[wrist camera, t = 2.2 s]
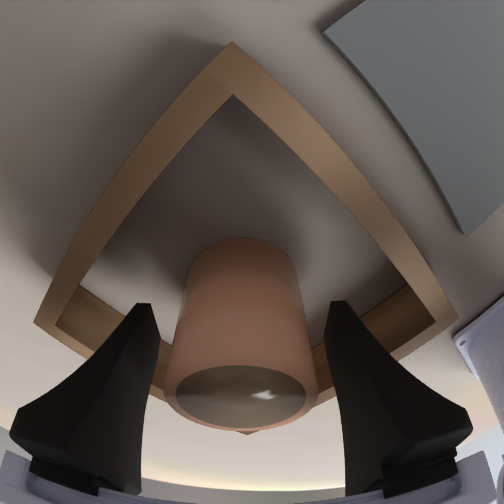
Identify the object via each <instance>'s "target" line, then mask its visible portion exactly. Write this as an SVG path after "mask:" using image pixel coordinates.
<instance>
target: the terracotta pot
mask: <svg viewBox="0 0 504 504" xmlns="http://www.w3.org/2000/svg"><path fill="white" fill-rule="evenodd" d="M163 392H164V396H165V399H166V401H167V402H168V404H169V405H170V406H171V407H172V408H173V409H174V410H175V411H176V412H177V413H179V414H180V415H182V416H183V417H185V418H187V419H189V420H191V421H193V422H195V423H198V424H201V425H204V426H207V427H211V428H216V429H222V430H230V431H256V430H264V429H270V428H275V427H278V426H282V425H285V424H288V423H290V422H292V421H295V420H297V419H298V418H300V417H302V416H303V415H305V414H306V413H307V412H309V411H310V410H311V409H312V408H313V406H314V405H315V403H316V401H317V399H318V394H319V392H318V385H317V379H316V373H315V367H314V361H313V356H312V350H311V345H310V339H309V334H308V328H307V323H306V318H305V312H304V307H303V302H302V297H301V292H300V287H299V282H298V277H297V273H296V270H295V267H294V265H293V263H292V261H291V260H290V259H289V257H288V256H287V255H286V254H285V253H284V252H282V251H281V250H280V249H279V248H277V247H275V246H273V245H272V244H269V243H267V242H264V241H261V240H257V239H251V238H233V239H227V240H223V241H220V242H217V243H215V244H213V245H211V246H209V247H208V248H206V249H205V250H204V251H202V252H201V253H200V254H199V255H198V256H197V257H196V259H195V260H194V262H193V263H192V265H191V268H190V271H189V275H188V279H187V283H186V287H185V291H184V295H183V300H182V304H181V308H180V312H179V317H178V321H177V326H176V330H175V335H174V339H173V344H172V349H171V353H170V358H169V363H168V368H167V373H166V378H165V383H164V388H163Z"/></svg>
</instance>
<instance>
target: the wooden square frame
mask: <svg viewBox="0 0 504 504" xmlns="http://www.w3.org/2000/svg"><path fill="white" fill-rule="evenodd" d="M232 94H234V95H235V96H236V97H237V98H238V99H239V100H240V101H241V102H243V103H244V104H245V105H246V106H247V107H248V108H249V109H250V110H251V111H252V112H254V113H255V114H256V115H257V116H258V117H259V118H260V119H261V120H262V121H263V122H264V123H265V124H266V125H267V126H268V127H269V128H270V129H272V130H273V131H274V132H275V133H276V134H277V135H278V136H279V137H280V138H281V139H282V140H283V141H284V142H285V143H286V144H287V145H288V146H289V147H290V148H291V149H292V150H293V151H294V152H295V153H296V154H297V155H298V156H299V157H300V158H301V159H302V160H303V161H304V162H305V163H306V164H307V165H308V167H309V168H310V169H311V170H312V171H313V172H314V173H315V174H316V175H317V176H318V177H319V178H320V179H321V180H322V181H323V182H324V183H325V185H326V186H327V187H328V188H329V189H330V190H331V191H332V192H333V193H334V194H335V195H336V197H337V198H338V199H339V200H340V201H341V202H342V203H343V204H344V206H345V207H346V208H347V209H348V210H349V211H350V212H351V213H352V215H353V216H354V217H355V218H356V219H357V220H358V222H359V223H360V224H361V225H362V226H363V227H364V229H365V230H366V231H367V232H368V233H369V235H370V236H371V237H372V238H373V239H374V241H375V242H376V243H377V244H378V245H379V247H380V248H381V249H382V250H383V252H384V253H385V254H386V255H387V257H388V258H389V259H390V260H391V262H392V263H393V264H394V265H395V267H396V268H397V269H398V271H399V272H400V273H401V274H402V276H403V277H404V278H405V280H406V281H407V282H408V284H407V285H405V286H404V287H403V288H401V289H400V290H399V291H397V292H396V293H395V294H393V295H392V296H391V297H389V298H388V299H387V300H385V301H384V302H382V303H381V304H380V305H378V306H377V307H375V308H374V309H372V310H371V311H370V312H368V313H367V314H365V315H364V316H362V317H361V318H360V320H361V321H362V322H363V324H364V325H365V326H366V327H367V329H368V330H369V331H370V332H371V333H372V334H373V336H374V337H375V338H376V339H377V340H378V342H379V343H380V344H381V345H382V346H383V347H384V348H385V349H386V350H387V351H388V352H389V354H390V355H391V356H392V357H393V358H394V359H395V360H396V361H399V360H400V359H402V358H404V357H405V356H407V355H408V354H410V353H411V352H413V351H414V350H416V349H417V348H419V347H420V346H422V345H423V344H425V343H426V342H428V341H429V340H431V339H432V338H434V337H435V336H436V335H438V334H439V333H441V332H442V331H443V330H445V329H446V328H447V327H449V326H450V325H451V324H453V323H454V322H455V321H457V320H458V319H459V317H458V315H457V313H456V312H455V310H454V308H453V306H452V304H451V303H450V301H449V299H448V297H447V296H446V294H445V292H444V291H443V289H442V287H441V286H440V284H439V282H438V281H437V279H436V277H435V276H434V274H433V273H432V271H431V269H430V268H429V266H428V265H427V263H426V261H425V260H424V258H423V257H422V255H421V254H420V252H419V251H418V249H417V248H416V246H415V245H414V243H413V242H412V240H411V239H410V237H409V236H408V234H407V233H406V232H405V230H404V229H403V227H402V226H401V224H400V223H399V222H398V220H397V219H396V217H395V216H394V215H393V213H392V212H391V211H390V209H389V208H388V207H387V205H386V204H385V203H384V201H383V200H382V199H381V197H380V196H379V195H378V193H377V192H376V191H375V190H374V188H373V187H372V186H371V184H370V183H369V182H368V181H367V179H366V178H365V177H364V176H363V174H362V173H361V172H360V171H359V169H358V168H357V167H356V166H355V165H354V163H353V162H352V161H351V160H350V159H349V157H348V156H347V155H346V154H345V153H344V152H343V150H342V149H341V148H340V147H339V146H338V145H337V144H336V142H335V141H334V140H333V139H332V138H331V137H330V136H329V135H328V133H327V132H326V131H325V130H324V129H323V128H322V127H321V126H320V125H319V124H318V122H317V121H316V120H315V119H314V118H313V117H312V116H311V115H310V114H309V113H308V112H307V111H306V110H305V109H304V108H303V107H302V106H301V105H300V104H299V103H298V102H297V101H296V100H295V99H294V98H293V97H292V96H291V95H290V94H289V93H288V92H287V91H286V90H285V89H284V88H283V87H282V86H281V85H280V84H279V83H278V82H277V81H276V80H275V79H274V78H273V77H272V76H271V75H270V74H269V73H268V72H267V71H265V70H264V69H263V68H262V67H261V66H260V65H259V64H258V63H257V62H256V61H254V60H253V59H252V58H251V57H250V56H249V55H248V54H247V53H245V52H244V51H243V50H242V49H241V48H240V47H238V46H237V45H236V44H235V43H234V42H230V43H229V44H228V45H227V46H226V47H225V48H224V49H223V50H222V51H221V52H220V53H219V54H218V55H217V56H216V57H215V58H214V59H213V60H212V61H211V62H210V63H209V64H208V65H207V66H206V67H205V68H204V69H203V70H202V71H201V72H200V73H199V74H198V75H197V76H196V77H195V78H194V80H193V81H192V82H191V83H190V84H189V85H188V86H187V87H186V88H185V89H184V90H183V92H182V93H181V94H180V95H179V96H178V97H177V98H176V99H175V101H174V102H173V103H172V104H171V105H170V106H169V107H168V109H167V110H166V111H165V112H164V113H163V115H162V116H161V117H160V118H159V119H158V121H157V122H156V123H155V124H154V125H153V127H152V128H151V129H150V130H149V132H148V133H147V134H146V135H145V137H144V138H143V139H142V141H141V142H140V143H139V144H138V146H137V147H136V148H135V150H134V151H133V152H132V154H131V155H130V156H129V158H128V159H127V160H126V162H125V163H124V165H123V166H122V167H121V169H120V170H119V172H118V173H117V174H116V176H115V177H114V179H113V180H112V182H111V183H110V184H109V186H108V187H107V189H106V190H105V192H104V193H103V195H102V196H101V198H100V199H99V201H98V203H97V204H96V206H95V207H94V209H93V210H92V212H91V214H90V215H89V217H88V218H87V220H86V222H85V223H84V225H83V227H82V228H81V230H80V232H79V233H78V235H77V237H76V238H75V240H74V242H73V244H72V245H71V247H70V249H69V251H68V253H67V254H66V256H65V258H64V260H63V262H62V264H61V266H60V267H59V269H58V271H57V273H56V275H55V277H54V279H53V281H52V283H51V285H50V287H49V289H48V291H47V293H46V295H45V297H44V299H43V302H42V304H41V306H40V308H39V310H38V312H37V315H36V317H35V319H34V321H33V323H34V324H36V325H37V326H38V327H40V328H41V329H42V330H44V331H45V332H47V333H48V334H49V335H51V336H52V337H54V338H55V339H57V340H58V341H60V342H61V343H63V344H64V345H66V346H67V347H69V348H70V349H72V350H73V351H75V352H76V353H78V354H79V355H81V356H82V357H84V358H86V359H87V360H88V359H89V358H90V357H91V356H92V355H93V354H94V353H95V351H96V350H97V349H98V348H99V347H100V346H101V345H102V344H103V343H104V342H105V340H106V339H107V338H108V337H109V336H110V335H111V333H112V332H113V331H114V330H115V329H116V328H117V326H118V325H119V324H120V323H121V321H122V320H123V319H124V318H125V317H124V316H123V315H121V314H120V313H118V312H117V311H115V310H114V309H113V308H111V307H110V306H108V305H107V304H105V303H104V302H102V301H101V300H99V299H98V298H97V297H95V296H94V295H92V294H91V293H90V292H88V291H87V290H85V289H84V288H83V287H81V286H80V285H79V284H80V282H81V281H82V279H83V278H84V276H85V275H86V273H87V272H88V270H89V268H90V267H91V265H92V264H93V262H94V261H95V259H96V258H97V257H98V255H99V254H100V252H101V251H102V249H103V248H104V246H105V245H106V244H107V242H108V241H109V239H110V238H111V237H112V235H113V234H114V232H115V231H116V230H117V228H118V227H119V225H120V224H121V223H122V221H123V220H124V219H125V217H126V216H127V215H128V213H129V212H130V211H131V209H132V208H133V207H134V206H135V204H136V203H137V202H138V200H139V199H140V198H141V197H142V195H143V194H144V193H145V191H146V190H147V189H148V188H149V186H150V185H151V184H152V183H153V182H154V180H155V179H156V178H157V177H158V175H159V174H160V173H161V172H162V171H163V169H164V168H165V167H166V166H167V165H168V163H169V162H170V161H171V160H172V159H173V158H174V156H175V155H176V154H177V153H178V152H179V151H180V150H181V148H182V147H183V146H184V145H185V144H186V143H187V142H188V141H189V139H190V138H191V137H192V136H193V135H194V134H195V133H196V132H197V131H198V130H199V129H200V127H201V126H202V125H203V124H204V123H205V122H206V121H207V120H208V119H209V118H210V117H211V116H212V115H213V114H214V113H215V112H216V111H217V110H218V108H219V107H220V106H221V105H222V104H223V103H224V102H225V101H226V100H227V99H228V98H229V97H230V96H231V95H232ZM171 349H172V346H171V345H169V344H168V343H166V342H164V341H163V340H161V339H160V347H159V354H158V360H157V364H156V368H155V372H154V376H153V380H152V384H151V387H150V391H149V394H150V395H152V396H154V397H156V398H158V399H160V400H163V401H165V402H167V401H166V399H165V396H164V392H163V388H164V383H165V378H166V373H167V368H168V363H169V358H170V353H171ZM311 350H312V356H313V361H314V367H315V373H316V379H317V385H318V392H319V394H318V399H317V401H316V403H315V405H314V406H313V407H315V406H317V405H319V404H321V403H323V402H325V401H327V400H329V399H331V398H333V397H335V396H336V392H335V388H334V384H333V380H332V376H331V373H330V369H329V365H328V361H327V357H326V350H325V343H324V342H323V343H321V344H319V345H318V346H316V347H315V348H313V349H311ZM167 403H168V402H167ZM257 431H260V430H256V431H237V432H240V433H242V434H245V435H249V434H252V433H254V432H257Z"/></svg>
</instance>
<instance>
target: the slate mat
mask: <svg viewBox="0 0 504 504" xmlns="http://www.w3.org/2000/svg"><path fill="white" fill-rule="evenodd" d="M321 34H322V35H323V37H324V38H325V39H326V40H327V41H328V42H329V43H330V44H331V45H332V46H333V47H334V48H335V49H336V50H337V51H338V52H339V53H340V54H341V55H342V57H343V58H344V59H345V60H346V61H347V62H348V63H349V64H350V65H351V67H352V68H353V69H354V70H355V71H356V72H357V74H358V75H359V76H360V77H361V78H362V79H363V81H364V82H365V83H366V84H367V86H368V87H369V88H370V89H371V90H372V92H373V93H374V94H375V96H376V97H377V98H378V99H379V101H380V102H381V103H382V105H383V106H384V107H385V109H386V110H387V111H388V113H389V114H390V115H391V117H392V118H393V119H394V121H395V122H396V124H397V125H398V126H399V128H400V129H401V131H402V132H403V134H404V135H405V136H406V138H407V139H408V141H409V142H410V144H411V145H412V147H413V149H414V150H415V152H416V153H417V155H418V156H419V158H420V159H421V161H422V163H423V164H424V166H425V168H426V169H427V171H428V173H429V174H430V176H431V178H432V179H433V181H434V183H435V184H436V186H437V188H438V190H439V192H440V193H441V195H442V197H443V199H444V201H445V203H446V204H447V206H448V208H449V210H450V212H451V214H452V216H453V218H454V220H455V222H456V224H457V226H458V228H459V230H460V232H461V233H462V234H463V235H464V236H465V237H467V236H468V235H469V234H470V233H471V232H472V231H473V230H474V229H476V228H477V227H478V226H479V225H480V224H481V223H482V222H483V221H484V220H485V219H486V218H487V217H489V216H490V215H491V214H492V213H493V212H494V211H495V210H496V209H497V208H498V207H499V206H500V205H501V204H502V203H503V202H504V0H364V1H363V2H361V3H360V4H359V5H357V6H356V7H354V8H353V9H352V10H350V11H349V12H348V13H346V14H345V15H344V16H342V17H341V18H340V19H338V20H337V21H336V22H334V23H333V24H332V25H331V26H329V27H328V28H327V29H325V30H324V31H323V32H322V33H321Z"/></svg>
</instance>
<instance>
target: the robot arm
mask: <svg viewBox="0 0 504 504" xmlns="http://www.w3.org/2000/svg"><path fill="white" fill-rule="evenodd" d="M160 339H161V337H160V333H159V330H158V327H157V324H156V320H155V317H154V314H153V310H152V307H151V303H136V305H135V306H134V307H133V308H132V309H131V310H130V312H129V313H128V314H127V315H126V317H125V318H124V319H123V320H122V321H121V323H120V324H119V325H118V326H117V328H116V329H115V330H114V331H113V332H112V333H111V335H110V336H109V337H108V338H107V339H106V340H105V342H104V343H103V344H102V345H101V346H100V347H99V348H98V349H97V350H96V351H95V353H94V354H93V355H92V356H91V357H90V358H89V359H88V360H87V361H86V362H85V363H84V364H83V365H81V366H80V367H79V368H78V369H77V370H76V371H75V372H74V373H72V374H71V375H70V376H69V377H67V378H66V379H65V380H64V381H62V382H61V383H60V384H59V385H57V386H56V387H54V388H53V389H51V390H50V391H49V392H47V393H45V394H44V395H42V396H41V397H39V398H37V399H36V400H34V401H32V402H30V403H28V404H27V405H25V406H23V407H21V408H19V409H18V411H17V413H16V416H15V419H14V421H13V424H12V427H11V429H10V432H9V435H10V438H11V439H12V440H13V441H14V442H15V443H16V444H18V445H19V446H20V447H21V448H23V449H24V450H25V451H27V452H28V453H29V454H31V455H32V456H33V457H32V461H30V460H28V459H26V458H24V457H22V456H19V455H17V454H15V453H13V452H10V451H8V450H6V451H5V455H4V458H3V461H2V465H1V468H0V501H1V502H3V503H5V504H194V503H184V502H175V501H167V500H159V499H153V498H147V497H142V496H137V495H138V494H140V492H141V448H142V434H143V424H144V415H145V409H146V404H147V399H148V395H149V391H150V387H151V384H152V380H153V376H154V372H155V368H156V364H157V360H158V354H159V347H160ZM453 341H454V343H455V345H456V347H457V348H458V350H459V351H460V353H461V355H462V356H463V358H464V359H465V361H466V363H467V364H468V366H469V368H470V370H471V371H472V373H473V375H474V376H475V378H476V379H480V380H481V382H482V384H483V386H484V388H485V390H486V393H487V395H488V397H489V399H490V402H491V404H492V406H493V408H494V411H495V413H496V416H497V418H498V420H499V423H500V425H501V428H502V430H503V433H504V296H503V297H502V298H501V299H500V300H498V301H497V302H496V303H495V304H494V305H493V306H491V307H490V308H489V309H488V310H487V311H485V312H484V313H483V314H482V315H480V316H479V317H478V318H477V319H476V320H474V321H473V322H472V323H470V324H469V325H468V326H467V327H465V328H464V329H463V330H461V331H460V332H459V333H457V334H456V335H455V336H454V338H453ZM324 343H325V350H326V357H327V361H328V365H329V369H330V373H331V376H332V380H333V384H334V388H335V392H336V396H337V400H338V404H339V409H340V416H341V424H342V432H343V443H344V457H345V496H346V497H342V498H336V499H329V500H322V501H315V502H305V503H295V504H490V503H492V502H494V501H495V500H497V504H504V464H503V466H502V468H501V470H500V473H499V477H498V481H497V489H495V486H494V482H493V479H492V475H491V472H490V469H489V466H488V462H487V459H486V456H485V454H484V451H480V452H478V453H476V454H473V455H471V456H469V457H466V458H464V459H462V460H460V461H458V462H455V459H454V457H455V456H457V451H456V448H455V447H457V446H458V445H459V444H460V443H461V442H463V441H464V440H465V439H466V438H467V437H468V436H469V435H470V434H471V433H472V431H473V426H472V423H471V420H470V418H469V415H468V413H467V411H466V409H465V408H463V407H461V406H459V405H457V404H456V403H454V402H452V401H450V400H448V399H446V398H445V397H443V396H441V395H440V394H438V393H437V392H435V391H434V390H432V389H431V388H429V387H428V386H426V385H425V384H424V383H422V382H421V381H420V380H419V379H417V378H416V377H415V376H413V375H412V374H411V373H410V372H408V371H407V370H406V369H405V368H404V367H403V366H402V365H401V364H400V363H399V362H397V361H396V360H395V359H394V358H393V357H392V356H391V355H390V354H389V352H388V351H387V350H386V349H385V348H384V347H383V346H382V345H381V344H380V343H379V342H378V340H377V339H376V338H375V337H374V336H373V334H372V333H371V332H370V331H369V330H368V329H367V327H366V326H365V325H364V324H363V322H362V321H361V320H360V318H359V317H358V316H357V315H356V313H355V312H354V311H353V309H352V308H351V307H350V305H349V304H348V303H347V302H346V301H331V303H330V308H329V313H328V318H327V322H326V327H325V332H324ZM502 458H503V461H504V454H503V455H502Z"/></svg>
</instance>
